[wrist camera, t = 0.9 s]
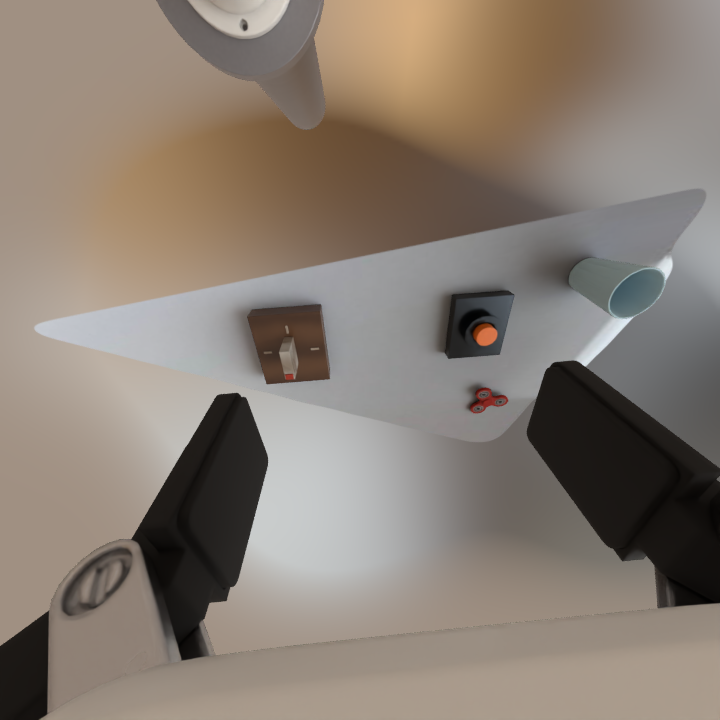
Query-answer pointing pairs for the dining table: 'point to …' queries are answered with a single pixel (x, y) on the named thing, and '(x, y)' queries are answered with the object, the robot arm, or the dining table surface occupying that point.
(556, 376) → the robot arm
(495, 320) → the button block
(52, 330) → the dining table surface
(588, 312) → the dining table surface
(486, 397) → the fidget spinner
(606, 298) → the cup
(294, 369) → the red-tipped white slab
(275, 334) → the panel
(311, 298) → the dining table surface
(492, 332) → the button
